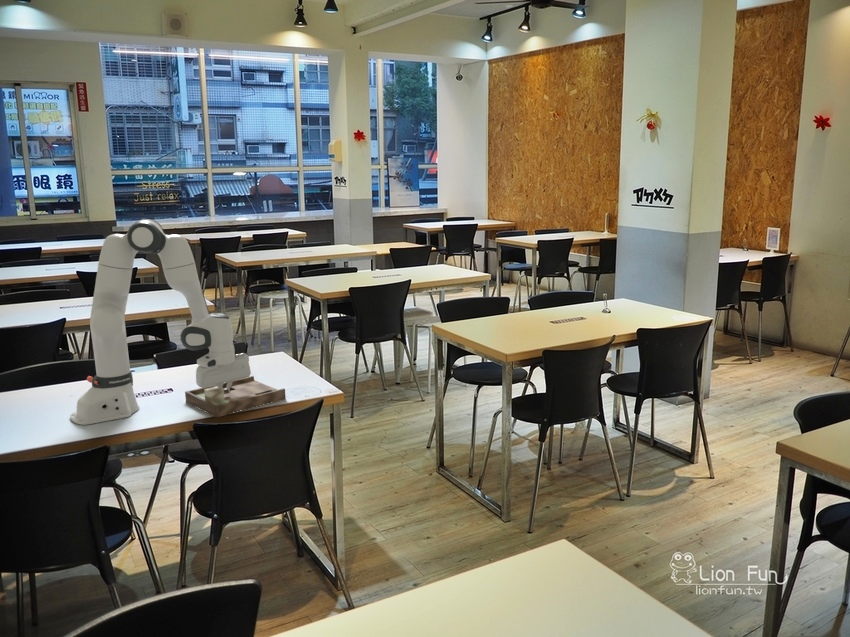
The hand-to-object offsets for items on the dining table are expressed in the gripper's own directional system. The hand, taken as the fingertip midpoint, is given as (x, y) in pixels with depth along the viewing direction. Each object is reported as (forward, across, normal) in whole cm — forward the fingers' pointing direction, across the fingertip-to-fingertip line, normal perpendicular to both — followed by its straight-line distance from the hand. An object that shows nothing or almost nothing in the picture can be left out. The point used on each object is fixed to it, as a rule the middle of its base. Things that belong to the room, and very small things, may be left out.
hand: (225, 393), depth 267 cm
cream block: (+1, +5, 0) cm, 5 cm away
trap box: (+4, -4, 0) cm, 5 cm away
